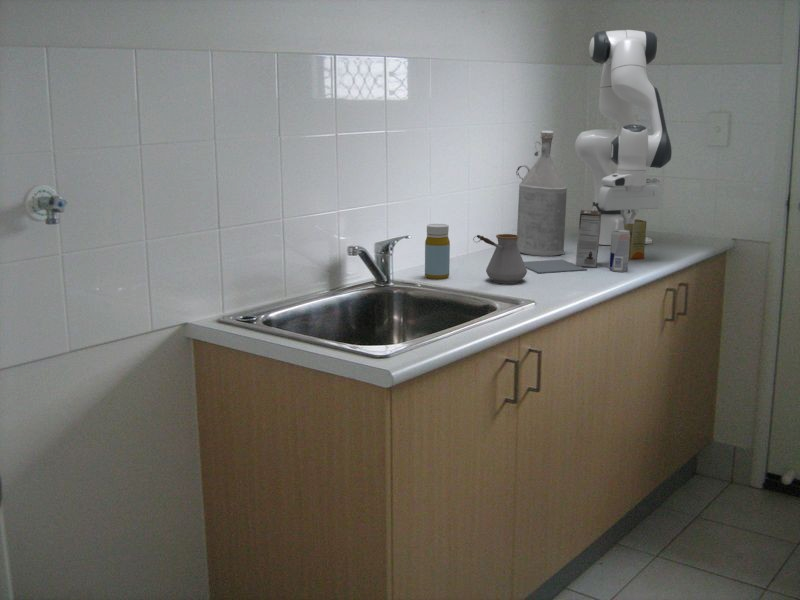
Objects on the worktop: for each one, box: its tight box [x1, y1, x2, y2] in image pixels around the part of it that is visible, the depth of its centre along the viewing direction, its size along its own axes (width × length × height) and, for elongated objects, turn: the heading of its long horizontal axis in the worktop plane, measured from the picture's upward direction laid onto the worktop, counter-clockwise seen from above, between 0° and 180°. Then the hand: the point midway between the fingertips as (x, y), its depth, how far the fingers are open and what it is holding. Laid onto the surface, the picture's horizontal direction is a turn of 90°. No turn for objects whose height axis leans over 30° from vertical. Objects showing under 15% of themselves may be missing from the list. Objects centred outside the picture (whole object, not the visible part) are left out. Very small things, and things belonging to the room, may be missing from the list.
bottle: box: [424, 223, 451, 280], centre depth 253 cm, size 7×7×15 cm
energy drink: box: [608, 229, 630, 273], centre depth 263 cm, size 5×5×12 cm
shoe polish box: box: [624, 218, 647, 261], centre depth 283 cm, size 5×5×12 cm
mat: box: [523, 259, 588, 275], centre depth 269 cm, size 16×16×1 cm
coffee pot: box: [472, 233, 528, 284], centre depth 245 cm, size 21×12×15 cm, turn 141°
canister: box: [516, 130, 568, 257], centre depth 288 cm, size 13×17×40 cm
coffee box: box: [575, 209, 601, 268], centre depth 271 cm, size 9×6×16 cm
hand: (628, 224), depth 274 cm, fingers closed
